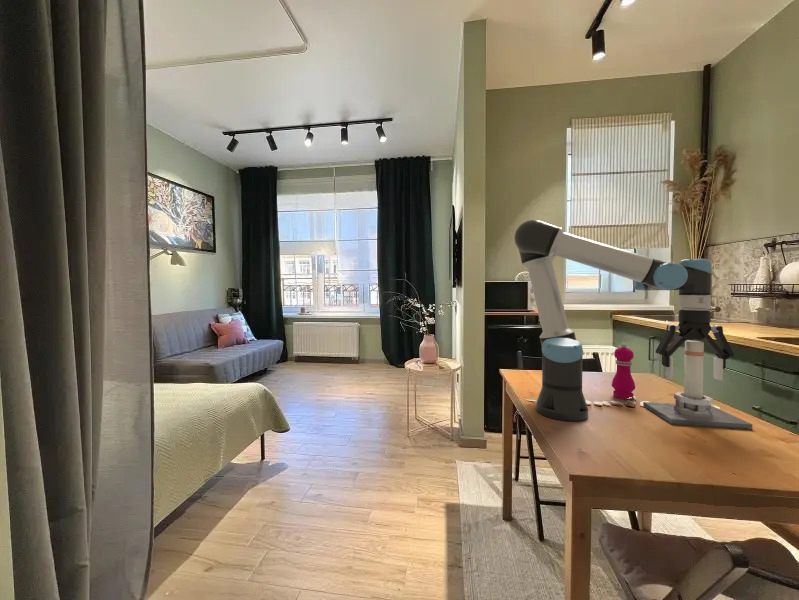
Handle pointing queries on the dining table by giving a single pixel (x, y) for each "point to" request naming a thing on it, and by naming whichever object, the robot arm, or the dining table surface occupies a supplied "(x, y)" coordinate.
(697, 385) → the cream ringed tube
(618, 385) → the pepper mill
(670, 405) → the tube holder base
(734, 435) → the dining table surface
